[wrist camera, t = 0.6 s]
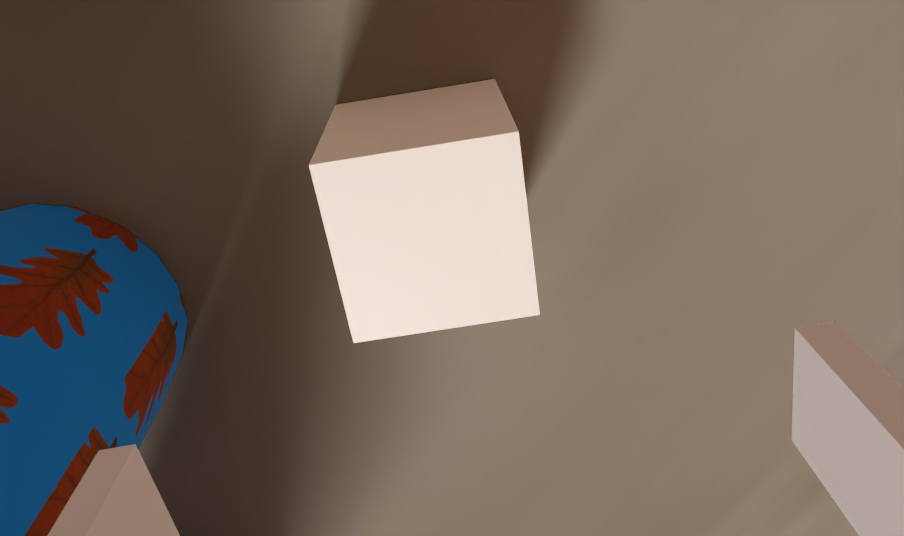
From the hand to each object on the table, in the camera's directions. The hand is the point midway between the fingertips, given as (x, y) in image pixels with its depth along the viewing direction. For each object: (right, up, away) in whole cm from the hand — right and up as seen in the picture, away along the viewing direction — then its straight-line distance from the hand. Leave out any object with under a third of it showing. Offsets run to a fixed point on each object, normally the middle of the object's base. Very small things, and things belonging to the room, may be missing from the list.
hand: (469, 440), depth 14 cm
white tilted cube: (-1, +8, +16) cm, 17 cm away
